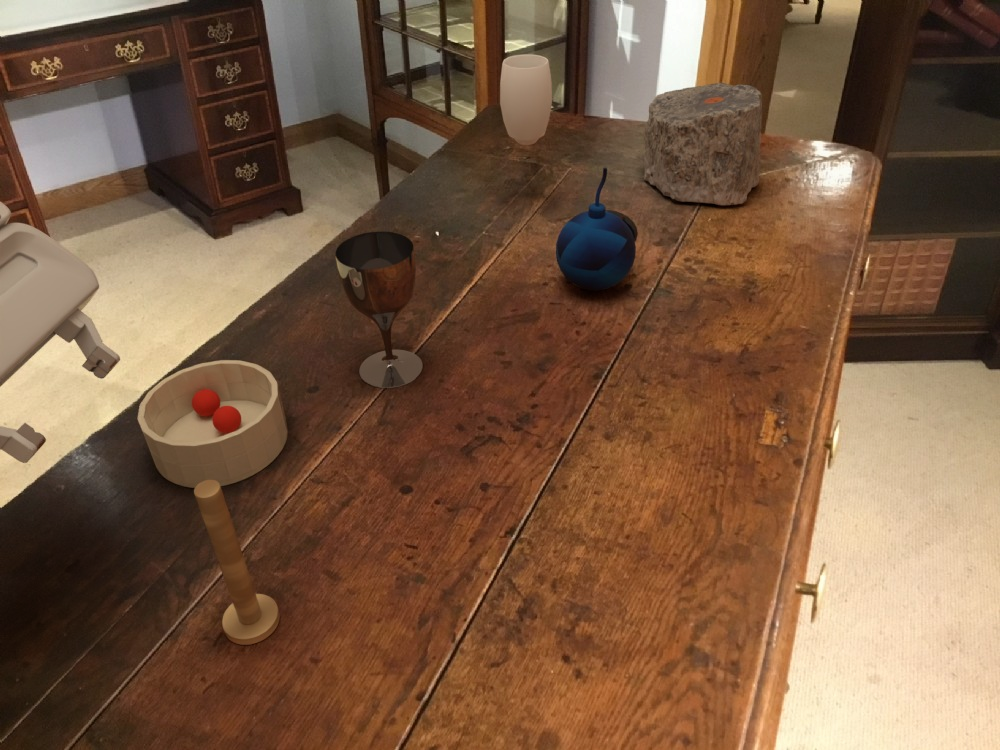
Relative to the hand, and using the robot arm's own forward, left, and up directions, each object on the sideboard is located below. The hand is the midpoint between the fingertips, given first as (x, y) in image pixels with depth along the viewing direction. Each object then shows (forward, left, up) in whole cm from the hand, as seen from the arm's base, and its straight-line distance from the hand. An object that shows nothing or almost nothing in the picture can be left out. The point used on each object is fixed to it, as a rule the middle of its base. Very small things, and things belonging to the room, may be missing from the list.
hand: (76, 408), depth 60 cm
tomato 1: (-3, +22, -17) cm, 28 cm away
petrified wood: (+54, +80, -19) cm, 98 cm away
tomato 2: (0, +19, -17) cm, 26 cm away
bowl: (0, +18, -19) cm, 26 cm away
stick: (+10, -3, -19) cm, 22 cm away
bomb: (+38, +50, -19) cm, 66 cm away
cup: (+28, +73, -19) cm, 80 cm away
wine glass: (+15, +31, -19) cm, 39 cm away
